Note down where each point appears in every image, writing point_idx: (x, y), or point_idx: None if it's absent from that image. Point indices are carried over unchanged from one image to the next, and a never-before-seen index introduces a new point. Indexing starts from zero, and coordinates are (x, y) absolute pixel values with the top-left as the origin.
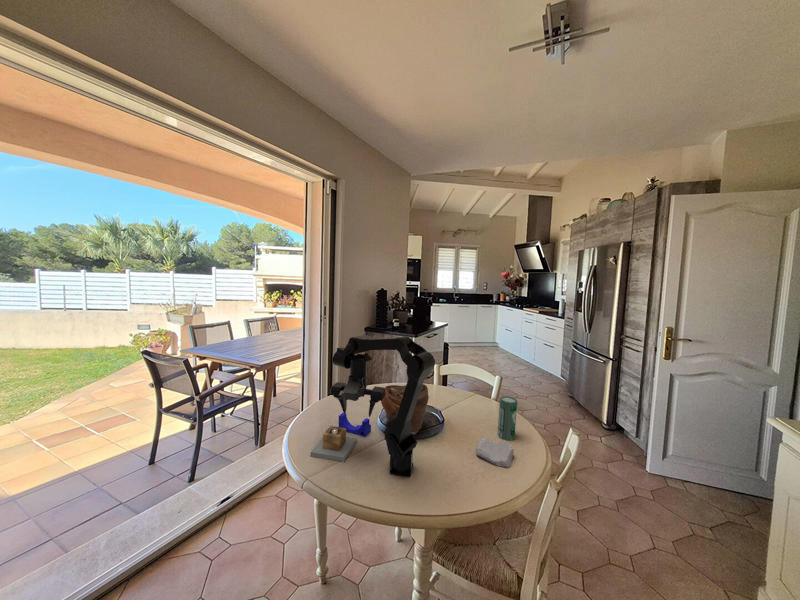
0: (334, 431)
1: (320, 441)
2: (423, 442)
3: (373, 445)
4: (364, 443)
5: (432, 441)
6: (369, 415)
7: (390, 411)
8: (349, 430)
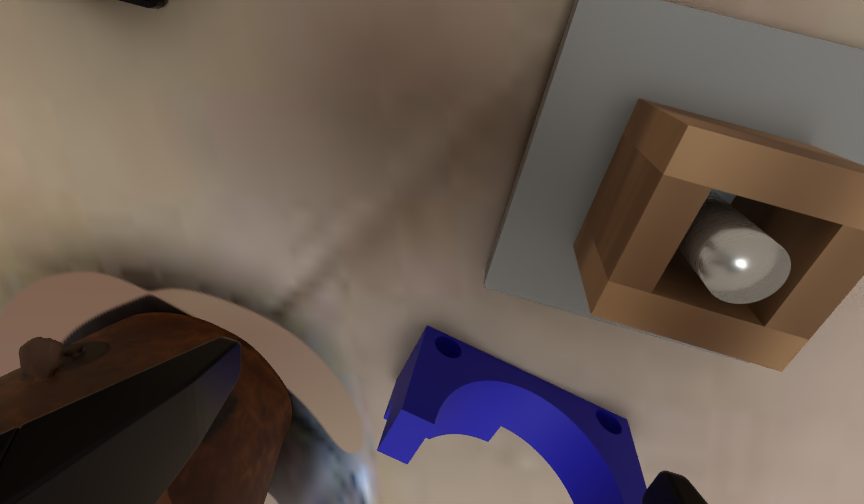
0: (756, 238)
1: None
2: (55, 246)
3: (357, 226)
4: (425, 253)
5: (11, 254)
6: (210, 348)
7: None
8: (545, 393)
